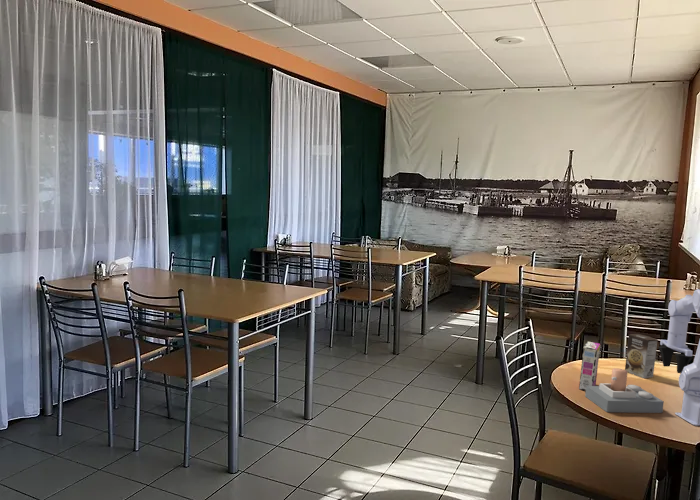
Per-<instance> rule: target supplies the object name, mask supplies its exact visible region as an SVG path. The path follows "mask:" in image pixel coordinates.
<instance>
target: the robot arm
mask: <svg viewBox="0 0 700 500" xmlns="http://www.w3.org/2000/svg"><path fill="white" fill-rule="evenodd" d="M667 306H668V307H667V308H668V315H669V316H670V317H669V325H668V333H667V339H660V343H659V345H660V346H657V349H658V350H659V352H660V353H659V354H660V356H661V360H662V365H663V367H670V366H671V362H672V358H673V356H675V359H676V373H677V374H679V376H678V385H679V388H680V389H681V391H683V397H682V405H681V412H674V414H675V416H678V417H679V418H681V419H683V420H685V421H686V422H687V423H689V424H691V425H692V426H700V339H699V341H698V344H697V347H696V348H697V349H696V350H695V351H696V352H695V356H694V355H693V350H691V348H689V347H688V345H687V344H686V343H687V334H688V327H689V326H688V324H689V323H690V322H691V317H692V315H693V313H696V315H697V318H698V319H700V289H699V288H697V289H695V290H694V291H693V294H686V295H685V297H681V298H680V299H679V300H675V299H671V300H670V301H669V303H668V305H667ZM674 352H678V353H674ZM693 358H694V359H693ZM692 360H693V362H692V363H690V362H691V361H692ZM689 363H690V364H689Z"/></svg>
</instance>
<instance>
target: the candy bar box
mask: <svg viewBox="0 0 700 500" xmlns="http://www.w3.org/2000/svg"><path fill="white" fill-rule="evenodd" d="M600 348H601V343H598V342H593V341H592V342H591V341H587V342H586V343H585V344H584V346H583V348H582V350H583V351H582V357H581V358H582V360H581V369H580V375H579V384H578V390H580V391H581V390H582V391H585V392H586V386H596V384H597V379H598V378H597V376H598V368H599V359H600V352H601V350H600Z"/></svg>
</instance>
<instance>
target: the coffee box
mask: <svg viewBox="0 0 700 500" xmlns="http://www.w3.org/2000/svg"><path fill="white" fill-rule="evenodd" d="M627 341H628V342H627V347H626V357H625V366H624V367H625V368H624V370H626V371H628V372H629V373H628V374H631V375H633V374H634V376H636V377H639V378H642V379H648V378H653V377H654V372H655V365H656V355H657V349H658V341H659V339H658V338H654V337H652V336H648V335H644V334H640V333H630V334H628V338H627Z"/></svg>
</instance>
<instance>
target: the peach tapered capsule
mask: <svg viewBox="0 0 700 500" xmlns="http://www.w3.org/2000/svg"><path fill="white" fill-rule="evenodd" d="M628 374H629V373H628V371H626V370H625V369H623V368H615V367H614V368H612V369H611V381H610V384H611V387H610V389H611V390H613V391H626V386H627V381H628Z"/></svg>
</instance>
